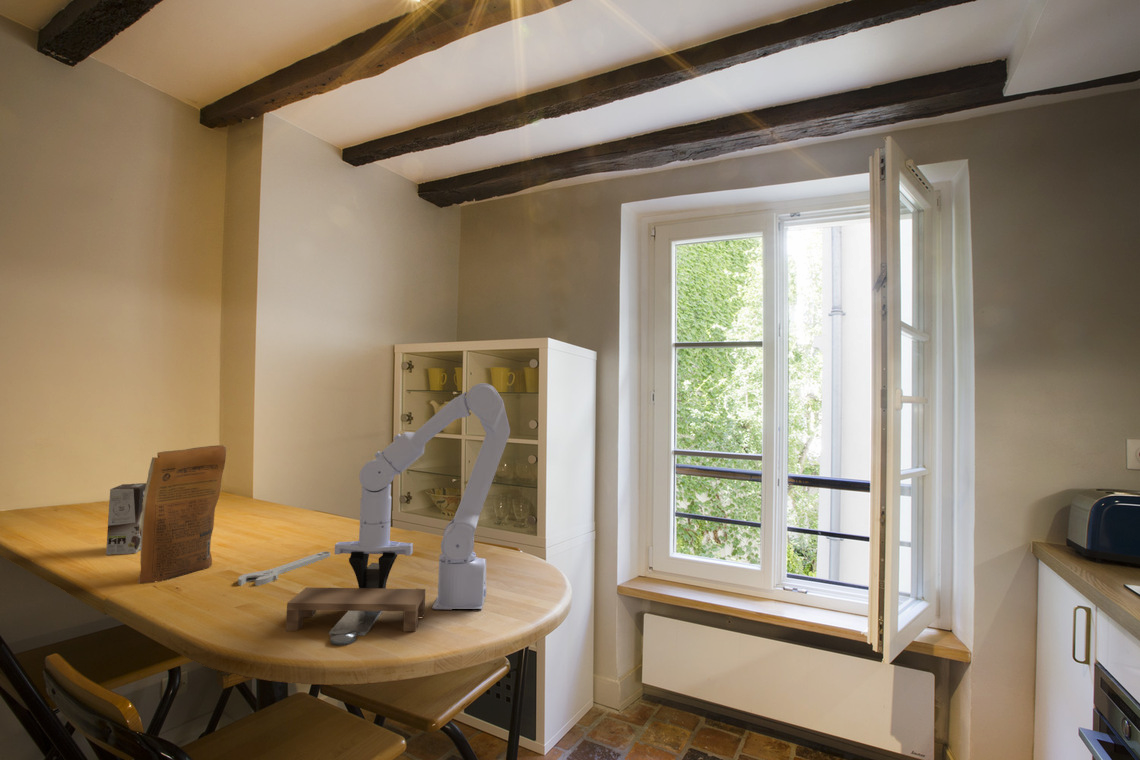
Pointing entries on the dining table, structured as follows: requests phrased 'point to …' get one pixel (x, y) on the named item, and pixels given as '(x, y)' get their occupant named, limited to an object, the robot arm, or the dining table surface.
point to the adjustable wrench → (279, 570)
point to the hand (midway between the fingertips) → (372, 591)
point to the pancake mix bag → (180, 512)
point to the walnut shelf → (356, 603)
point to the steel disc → (343, 637)
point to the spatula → (361, 619)
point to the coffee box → (125, 519)
